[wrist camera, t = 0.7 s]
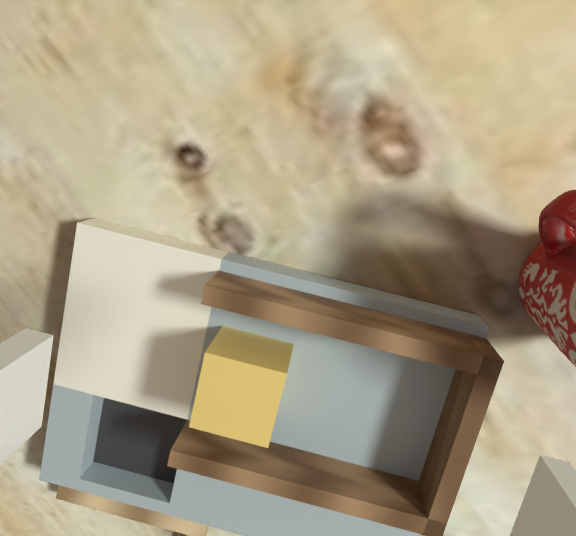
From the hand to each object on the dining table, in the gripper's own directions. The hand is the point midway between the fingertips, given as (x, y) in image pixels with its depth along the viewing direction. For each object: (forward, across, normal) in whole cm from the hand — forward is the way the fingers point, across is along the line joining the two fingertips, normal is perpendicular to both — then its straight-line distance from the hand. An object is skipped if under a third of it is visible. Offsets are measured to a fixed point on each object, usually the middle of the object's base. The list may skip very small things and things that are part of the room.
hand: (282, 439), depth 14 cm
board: (+24, -2, -11) cm, 27 cm away
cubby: (+22, +3, -8) cm, 23 cm away
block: (+22, -2, -8) cm, 23 cm away
